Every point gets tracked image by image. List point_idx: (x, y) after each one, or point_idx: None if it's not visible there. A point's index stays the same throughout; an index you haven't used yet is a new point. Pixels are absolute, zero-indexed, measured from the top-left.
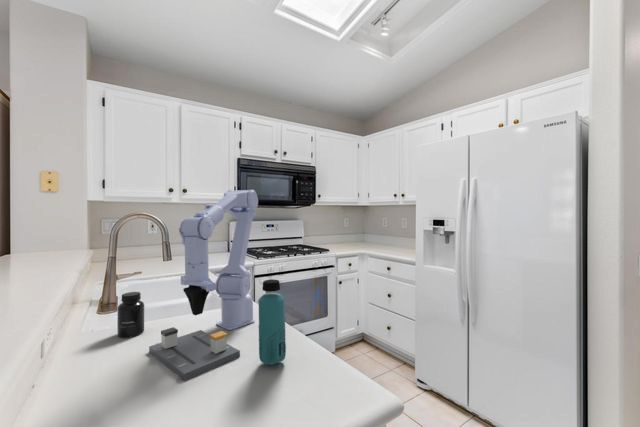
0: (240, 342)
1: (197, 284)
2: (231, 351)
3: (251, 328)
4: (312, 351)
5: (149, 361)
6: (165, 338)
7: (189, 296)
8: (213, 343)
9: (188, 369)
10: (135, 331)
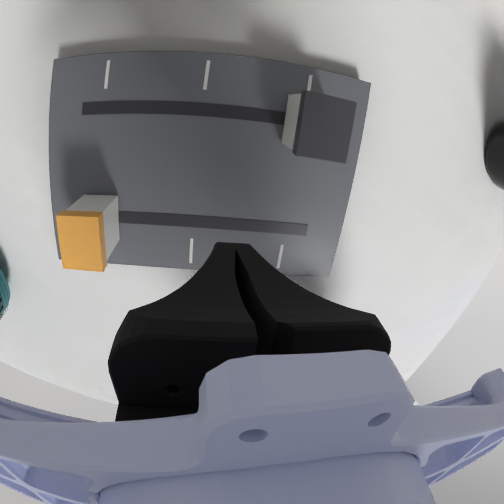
0: None
1: (24, 435)
2: None
3: None
4: (6, 352)
5: (291, 42)
6: (300, 94)
7: (259, 301)
8: (84, 206)
9: (64, 79)
10: (495, 148)
